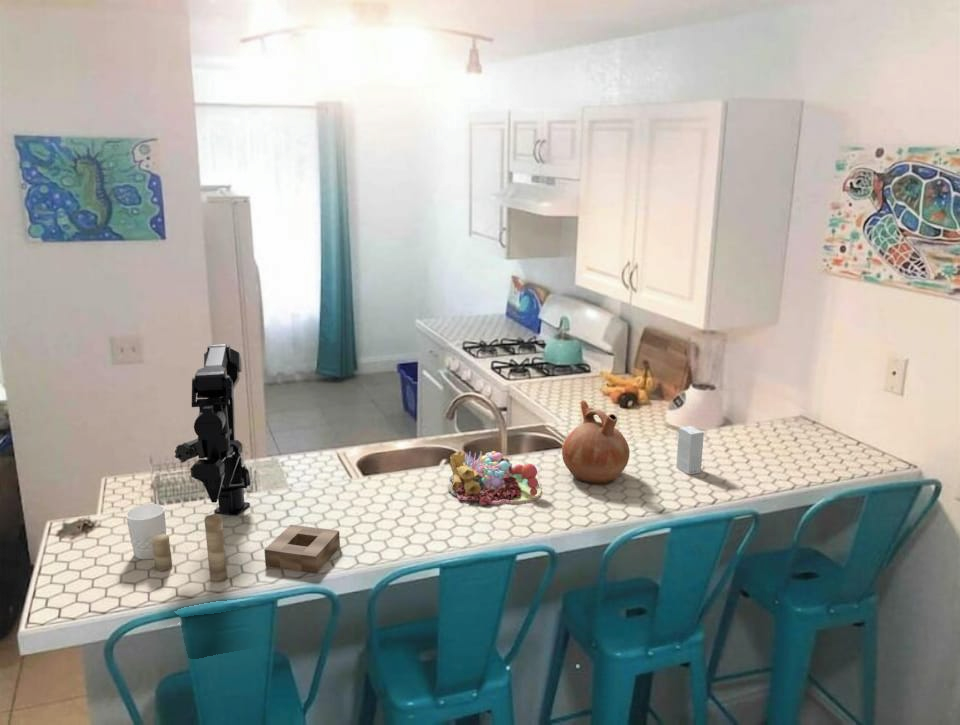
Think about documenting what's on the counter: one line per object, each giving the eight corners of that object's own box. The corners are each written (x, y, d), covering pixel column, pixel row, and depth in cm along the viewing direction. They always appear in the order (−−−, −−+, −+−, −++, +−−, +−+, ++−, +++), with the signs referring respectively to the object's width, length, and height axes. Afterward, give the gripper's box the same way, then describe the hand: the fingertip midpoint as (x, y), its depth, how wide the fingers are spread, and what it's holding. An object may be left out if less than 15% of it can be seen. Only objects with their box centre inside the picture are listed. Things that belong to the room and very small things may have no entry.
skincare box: (701, 473, 222) (704, 432, 218) (688, 475, 220) (691, 434, 217) (688, 465, 227) (691, 425, 224) (675, 467, 226) (678, 427, 222)
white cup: (174, 543, 183) (169, 503, 180) (162, 561, 175) (157, 519, 173) (139, 544, 183) (134, 503, 180) (125, 561, 175) (120, 520, 172)
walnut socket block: (291, 540, 184) (290, 524, 183) (340, 546, 181) (339, 530, 180) (265, 566, 173) (264, 549, 172) (316, 573, 170) (315, 556, 169)
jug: (548, 469, 224) (550, 401, 218) (603, 459, 231) (606, 393, 226) (583, 495, 208) (586, 422, 202) (641, 483, 215) (645, 412, 210)
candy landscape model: (458, 512, 199) (458, 478, 197) (438, 475, 221) (437, 444, 218) (553, 500, 205) (554, 467, 203) (524, 466, 227) (524, 435, 225)
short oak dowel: (161, 562, 175) (158, 533, 173) (175, 564, 174) (172, 535, 172) (152, 570, 171) (148, 540, 170) (165, 572, 171) (162, 542, 169)
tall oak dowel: (216, 573, 170) (210, 513, 167) (230, 575, 170) (224, 515, 166) (207, 581, 167) (201, 520, 163) (221, 583, 166) (215, 522, 163)
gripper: (192, 417, 185) (197, 481, 188) (162, 440, 167) (169, 511, 170) (240, 416, 185) (245, 480, 188) (216, 439, 167) (222, 510, 170)
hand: (220, 494), depth 179 cm, fingers open, 9 cm apart
